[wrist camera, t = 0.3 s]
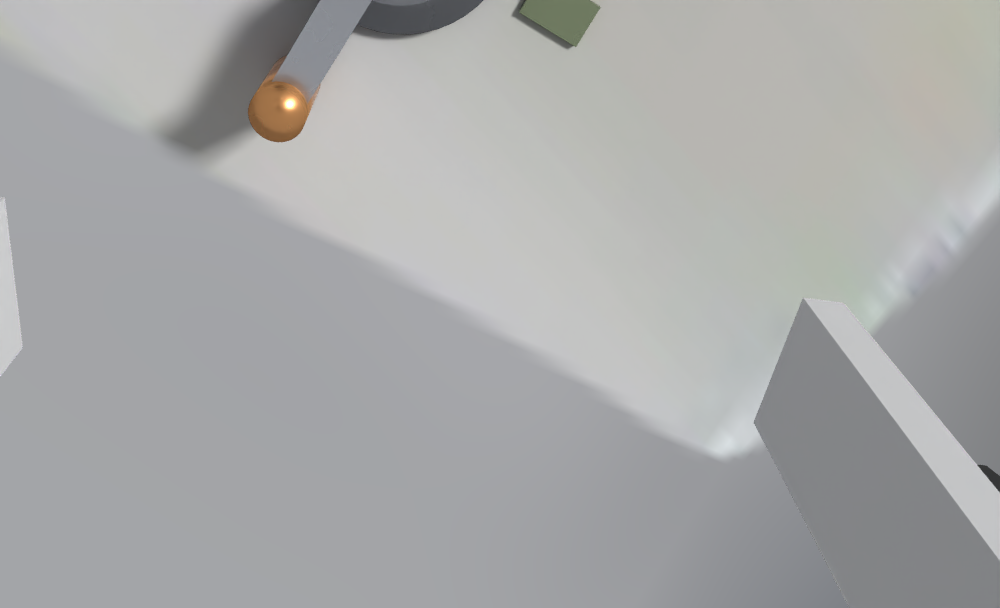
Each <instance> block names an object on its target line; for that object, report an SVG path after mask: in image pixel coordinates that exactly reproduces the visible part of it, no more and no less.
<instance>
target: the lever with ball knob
mask: <svg viewBox="0 0 1000 608" xmlns="http://www.w3.org/2000/svg"><path fill="white" fill-rule="evenodd" d="M371 1H372V0H320V1H319V3H318V5H317V6H316V8H315V10H314V11H313V13H312V15H311V16H310V18H309V20H308V22H307V23H306V25H305V27H304V28H303V30H302V32H301V33H300V35H299V37H298V38H297V40H296V42H295V43H294V45H293V47H292V48H291V50H290V52H289V53H288V55H287V56H284V57H282V58H280V59H279V60H278V61H277V62H276V63H275V64H274V65H273V67H272V69H271V70H270V72H269V73H268V75H267V76H266V78H265V79H264V81H263V83H262V84H261V86H260V87H259V89H258V90H257V92H256V93H255V95H254V96H253V98H252V100H251V102H250V104H249V108H248V116H249V120H250V123H251V125H252V127H253V128H254V130H255V131H256V132H257V133H258V134H259V135H260V136H262V137H263V138H265V139H267V140H270V141H274V142H285V141H289V140H291V139H293V138H295V137H296V136H297V135H298V134H299V133H300V132H301V131H302V129H303V127H304V124H305V122H306V120H307V117H308V115H309V112H310V110H311V108H312V105H313V103H314V101H315V98H316V96H317V94H318V91H319V89H320V83H321V82H322V80H323V78H324V77H325V75H326V73H327V72H328V70H329V69H330V67H331V65H332V64H333V62H334V61H335V59H336V57H337V56H338V54H339V53H340V51H341V49H342V48H343V46H344V44H345V43H346V41H347V40H348V38H349V36H350V35H351V33H352V32H353V30H354V28H355V27H356V25H357V24H358V22H359V20H360V19H361V17H362V15H363V14H364V12H365V11H366V9H367V7H368V6H369V4H370V3H371ZM373 1H376V2H379V3H383V4H389V5H403V6H405V5H414V4H419V3H423V2H426V1H429V0H373Z"/></svg>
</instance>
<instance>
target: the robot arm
mask: <svg viewBox="0 0 1000 608" xmlns="http://www.w3.org/2000/svg"><path fill="white" fill-rule="evenodd" d="M22 348H23V345H22V337H21V329H20V321H19V313H18V304H17V295H16V287H15V279H14V271H13V263H12V254H11V246H10V238H9V230H8V221H7V213H6V205H5V198H1V197H0V376H1V375H2V374H3V372H4V371H5V370H6V369H7V367H8V366H9V365H10V363H11V362H12V361H13V359H14V358H15V357H16V356H17V354H18V353H19V352H20V350H21V349H22ZM754 424H755V426H756V428H757V430H758V432H759V434H760V436H761V438H762V439H763V441H764V443H765V445H766V447H767V449H768V451H769V453H770V455H771V457H772V459H773V461H774V463H775V465H776V467H777V469H778V470H779V472H780V474H781V476H782V478H783V480H784V482H785V484H786V486H787V488H788V490H789V492H790V493H791V496H792V498H793V500H794V502H795V503H796V505H797V507H798V509H799V511H800V513H801V515H802V517H803V519H804V521H805V523H806V525H807V527H808V529H809V531H810V533H811V535H812V536H813V538H814V540H815V542H816V544H817V546H818V548H819V550H820V552H821V554H822V556H823V557H824V560H825V562H826V564H827V566H828V567H829V569H830V571H831V573H832V575H833V577H834V579H835V581H836V583H837V585H838V587H839V589H840V591H841V593H842V595H843V597H844V598H845V601H846V602H847V604H848V606H849V608H1000V476H999V475H998V474H996V473H995V472H994V471H992V470H991V469H990V468H988V467H987V466H984V465H977V464H976V463H975V462H974V461H973V460H972V458H971V457H970V456H969V455H968V454H967V452H966V451H965V450H964V449H963V447H962V446H961V445H960V444H959V443H958V441H957V440H956V439H955V438H954V436H953V435H952V434H951V433H950V432H949V430H948V429H947V428H946V427H945V425H944V424H943V423H942V422H941V421H940V419H939V418H938V417H937V416H936V414H935V413H934V412H933V411H932V410H931V408H930V407H929V406H928V405H927V404H926V403H925V401H924V400H923V399H922V397H921V396H920V395H919V394H918V393H917V391H916V390H915V389H914V388H913V387H912V385H911V384H910V383H909V382H908V380H907V379H906V378H905V377H904V376H903V374H902V373H901V372H900V371H899V370H898V368H897V367H896V366H895V365H894V363H893V362H892V361H891V360H890V358H889V357H888V356H887V355H886V354H885V352H884V351H883V350H882V349H881V348H880V346H879V345H878V344H877V343H876V341H875V340H874V339H873V338H872V337H871V335H870V334H869V333H868V332H867V331H866V329H865V328H864V327H863V326H862V324H861V323H860V322H859V321H858V320H857V318H856V317H855V316H854V315H853V313H852V312H851V311H850V310H849V309H848V307H847V306H846V305H845V304H844V303H841V302H833V301H825V300H817V299H809V298H803V299H802V302H801V304H800V307H799V309H798V312H797V314H796V317H795V319H794V322H793V325H792V327H791V330H790V332H789V335H788V337H787V340H786V342H785V345H784V347H783V350H782V352H781V355H780V357H779V360H778V362H777V365H776V367H775V370H774V372H773V375H772V377H771V380H770V382H769V385H768V387H767V390H766V393H765V395H764V398H763V400H762V403H761V405H760V408H759V410H758V413H757V415H756V418H755V420H754Z"/></svg>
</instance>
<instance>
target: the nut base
mask: <svg viewBox="0 0 1000 608" xmlns="http://www.w3.org/2000/svg"><path fill="white" fill-rule="evenodd" d="M482 1H483V0H429V1H426V2H423V3H419V4H414V5H405V6H403V5H389V4H383V3H379V2H376V1H373V0H372V1H371V3H370V4H369V6H368V7H367V9H366V11H365V12H364V14H363V15H362V17H361V19H360V20H359V22H358V24H357V25H360V26H362V27H365V28H368V29H371V30H375V31H378V32H384V33H391V34H416V33H424V32H428V31H432V30H436V29H439V28H442V27H444V26H447V25H449V24H451V23H453V22H455V21H457V20H459V19H460V18H462V17H464V16H465V15H467V14H468V13H469V12H471V11H472V10H473V9H475V8H476V7H477V6H478V5H479V4H480V3H481V2H482ZM599 9H600V6H598V5H597V4H595V3H594V2H592V1H591V0H525V2H524V3H523V5H522V7H521V8H520V10H519V13H521V14H523V15H524V16H526V17H528V18H529V19H531V20H532V21H534V22H536V23H537V24H539V25H541V26H542V27H544V28H545V29H547V30H549V31H550V32H552V33H554V34H555V35H557V36H558V37H560V38H562V39H563V40H565V41H567V42H568V43H570V44H572V45H573V46H575V47H576V46H577V44H578V43H579V41H580V39H581V38H582V36H583V35H584V33H585V31H586V30H587V28H588V27H589V25H590V23H591V22H592V20H593V19H594V17H595V15H596V14H597V12H598V11H599Z"/></svg>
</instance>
